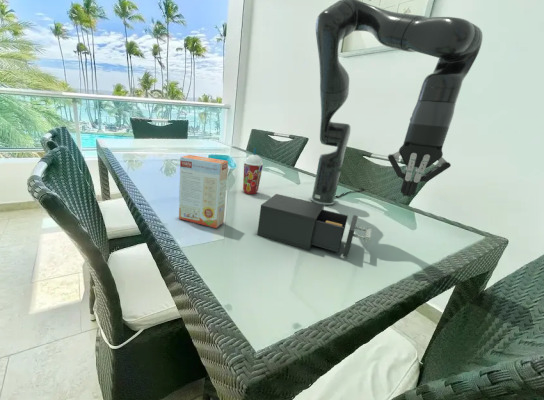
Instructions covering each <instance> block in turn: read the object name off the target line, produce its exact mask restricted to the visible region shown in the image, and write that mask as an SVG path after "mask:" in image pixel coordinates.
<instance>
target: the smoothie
mask: <svg viewBox="0 0 544 400" xmlns="http://www.w3.org/2000/svg"><path fill="white" fill-rule="evenodd" d="M253 149H254V150H253V154H250V155H248V156H247V157H246V158H245V160H244V161H243V182H242V190H243V193H244V194H246V195H256V194H257V193H258V191H259V186H260V181H261V176H262V172H263V167H264V163H263V159H262V158H261V157H260V156H259V155H257V154H256V151H257V147H255V148H253Z"/></svg>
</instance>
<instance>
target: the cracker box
mask: <svg viewBox="0 0 544 400" xmlns="http://www.w3.org/2000/svg"><path fill="white" fill-rule="evenodd" d="M179 160H180V161H179V197H178V198H179V201H178V202H179V203H178V219H180V220H183V221H186V222H190V223H194V224H198V225H202V226H206V227H209V228H212V229H213V228H214V229H217V228H219V227H220V226H221V225H222V224H224V221H225V209H226V207H225V206H226V195H227V185H228V184H227V181H228V168H229V161H228V160H224V159H220V158H219V159H218V158H212V157H207V156H200V155H193V154H187V155H183V156H180V157H179Z"/></svg>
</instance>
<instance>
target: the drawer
mask: <svg viewBox="0 0 544 400" xmlns="http://www.w3.org/2000/svg"><path fill="white" fill-rule="evenodd" d="M348 217H349V215H347V214H344V213H339V212H335V211H330V210H326V209H324V210H322V211H321V213H320V214H319V216H318V217H317V219H316V221H315V226H314V231H313V236H312V240H311V245H312V246H314V247H318V248H322V249H325V250H329V251H332V252H335V253H339V250H340V247H341V244H342V240H343V238H344V233H345V229H346V227H347V221H348ZM358 218H359V216H358V215H355V214H353V215H352V219H351V223H350V226H349V230H348V232H347V233H348V234H347V237H346V241H345V244H344V245H345V246H344V249H343V252H342V253H343V254H342V257H344V258H348V257H349V253H350V248H351V245H352V242H353V238H358V239H361V240H364V242H366V243H370V242H371V240H372V231H373V230H372V228H370V227H366V228H364V227H361V226H357V222H358ZM326 220H327V221H331V222H335V223H339V224H342V227H341V226H337V225H333V224H330V223H326ZM356 230H358V231H364V235H360V234H358V233H357V234H356V233H355V231H356Z"/></svg>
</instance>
